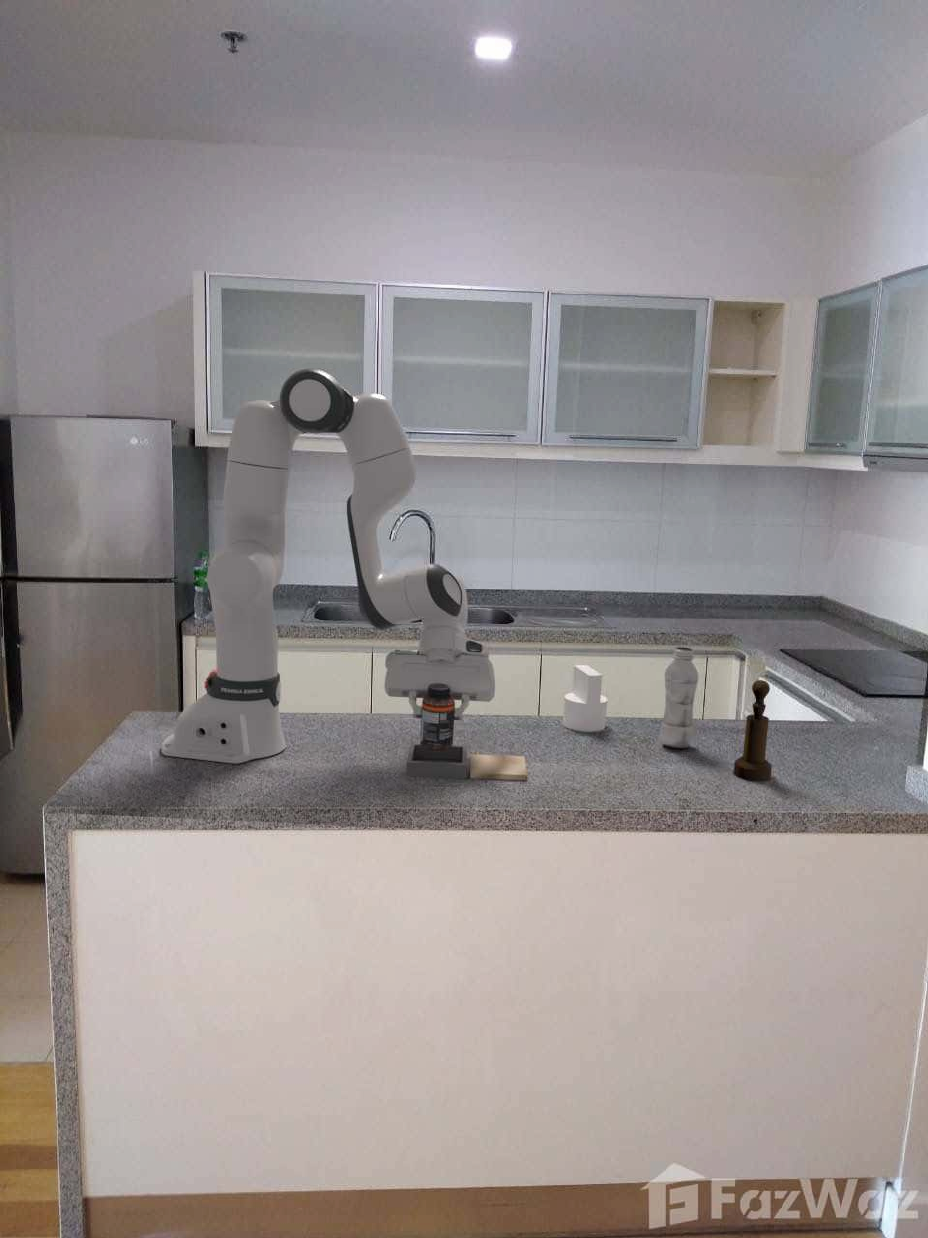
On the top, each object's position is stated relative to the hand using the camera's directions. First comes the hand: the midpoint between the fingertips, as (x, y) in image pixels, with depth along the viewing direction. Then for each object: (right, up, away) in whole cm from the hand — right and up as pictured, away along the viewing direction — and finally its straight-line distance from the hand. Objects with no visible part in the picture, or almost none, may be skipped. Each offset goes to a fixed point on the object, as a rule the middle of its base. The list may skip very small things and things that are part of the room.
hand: (437, 718), depth 171 cm
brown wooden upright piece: (+58, -11, +5) cm, 59 cm away
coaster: (+11, -10, +2) cm, 15 cm away
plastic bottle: (+47, -8, +20) cm, 52 cm away
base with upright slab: (+30, -5, +32) cm, 44 cm away
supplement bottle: (0, -5, +2) cm, 6 cm away
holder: (0, -9, +2) cm, 9 cm away
